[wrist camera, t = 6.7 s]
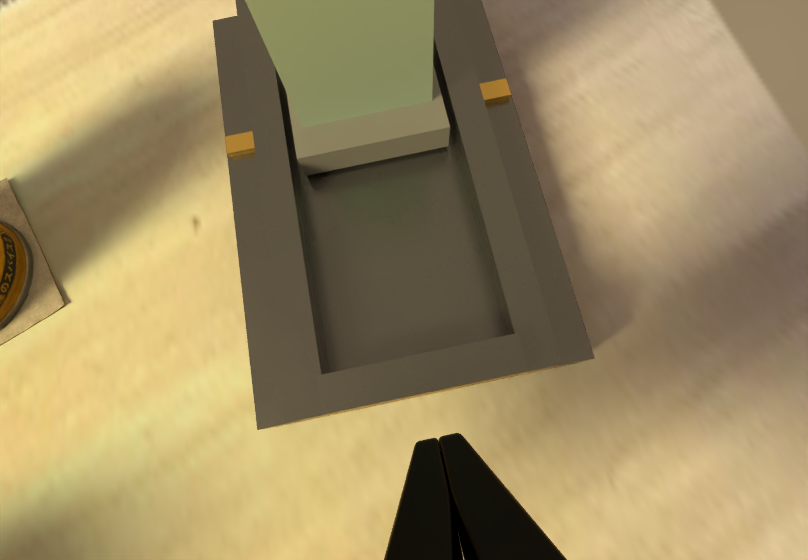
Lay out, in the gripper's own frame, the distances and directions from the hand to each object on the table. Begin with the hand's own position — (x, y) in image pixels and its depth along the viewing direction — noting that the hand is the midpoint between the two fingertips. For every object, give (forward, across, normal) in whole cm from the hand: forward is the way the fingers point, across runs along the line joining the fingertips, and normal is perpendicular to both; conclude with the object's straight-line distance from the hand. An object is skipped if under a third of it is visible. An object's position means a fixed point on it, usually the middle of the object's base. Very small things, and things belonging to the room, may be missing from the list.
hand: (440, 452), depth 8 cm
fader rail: (+14, 0, -1) cm, 14 cm away
